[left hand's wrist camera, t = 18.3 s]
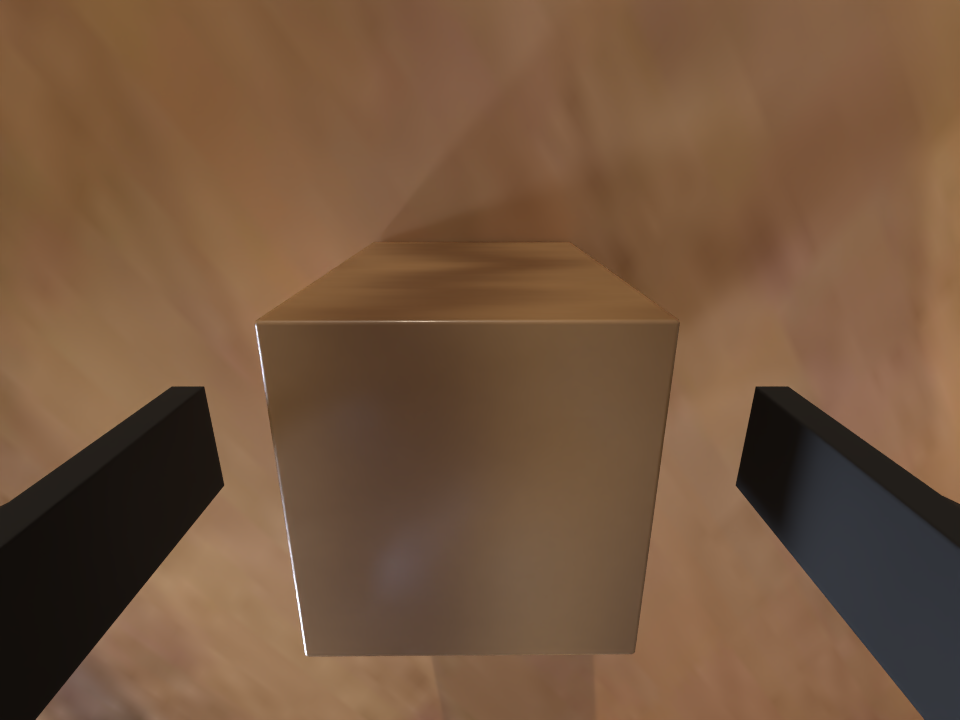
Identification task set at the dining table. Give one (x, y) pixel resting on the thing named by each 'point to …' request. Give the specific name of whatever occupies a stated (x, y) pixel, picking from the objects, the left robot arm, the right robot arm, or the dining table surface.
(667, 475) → the dining table surface
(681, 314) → the dining table surface
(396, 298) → the block
